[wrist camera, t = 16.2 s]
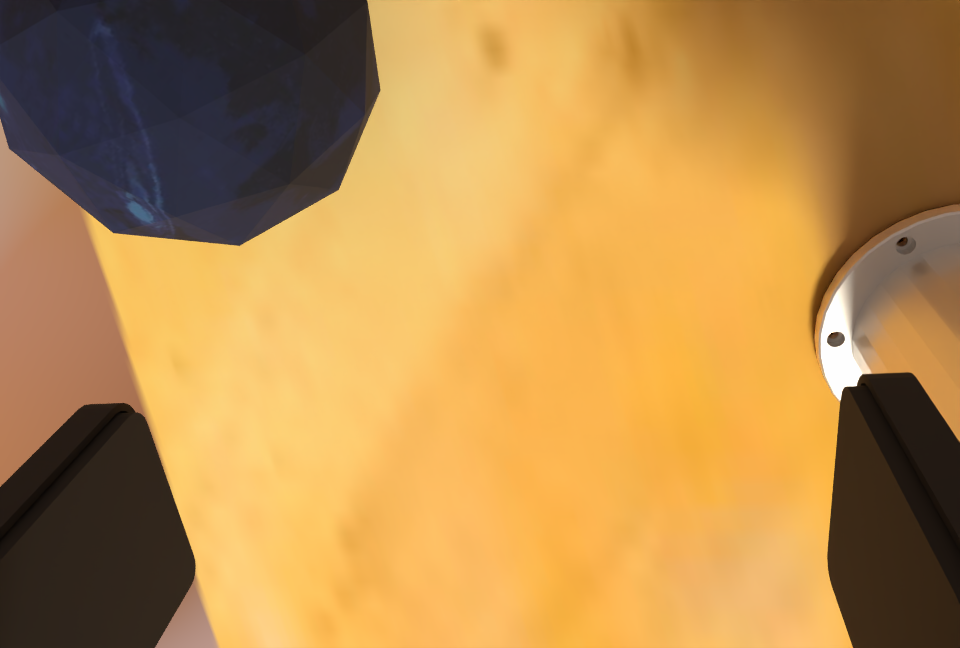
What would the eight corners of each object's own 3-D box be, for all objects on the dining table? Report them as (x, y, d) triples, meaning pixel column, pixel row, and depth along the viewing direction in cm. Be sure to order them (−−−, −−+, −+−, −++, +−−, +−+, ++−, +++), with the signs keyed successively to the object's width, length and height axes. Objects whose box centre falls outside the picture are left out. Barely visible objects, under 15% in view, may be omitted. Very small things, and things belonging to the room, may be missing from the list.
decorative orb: (218, 323, 40) (226, 316, 26) (-55, 102, 37) (-220, -46, 22) (405, 113, 43) (505, 3, 29) (170, -110, 40) (150, -359, 25)
